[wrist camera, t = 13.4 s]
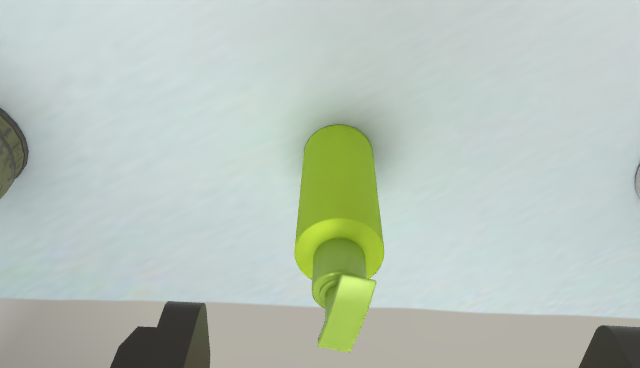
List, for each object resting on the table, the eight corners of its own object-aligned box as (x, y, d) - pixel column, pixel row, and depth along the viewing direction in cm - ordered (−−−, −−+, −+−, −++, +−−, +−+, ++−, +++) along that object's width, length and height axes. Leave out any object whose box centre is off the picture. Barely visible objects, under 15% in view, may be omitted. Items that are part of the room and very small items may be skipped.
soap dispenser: (385, 122, 45) (414, 295, 29) (361, 190, 49) (375, 379, 32) (315, 106, 45) (303, 273, 28) (297, 176, 48) (277, 361, 32)
